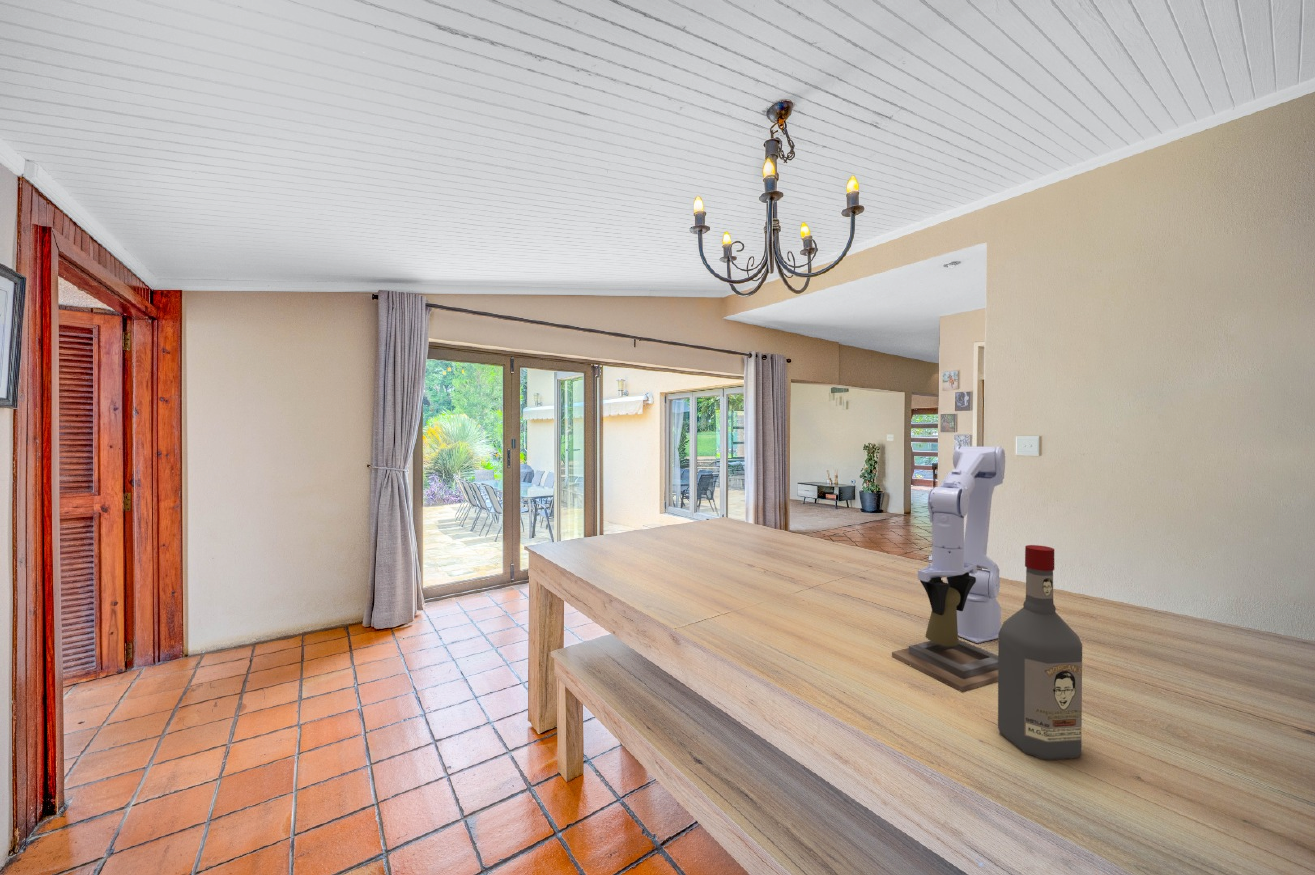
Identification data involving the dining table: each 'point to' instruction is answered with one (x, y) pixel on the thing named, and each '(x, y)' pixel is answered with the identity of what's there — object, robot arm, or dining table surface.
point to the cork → (945, 622)
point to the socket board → (945, 674)
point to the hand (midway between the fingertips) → (947, 611)
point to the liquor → (1040, 670)
